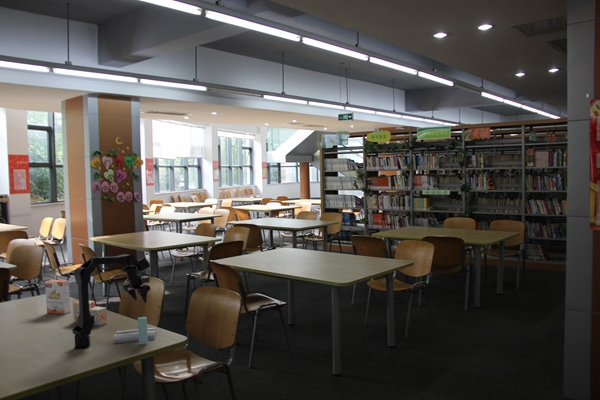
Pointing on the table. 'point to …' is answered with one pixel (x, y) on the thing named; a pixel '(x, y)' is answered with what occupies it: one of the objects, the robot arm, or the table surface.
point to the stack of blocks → (92, 312)
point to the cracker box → (57, 296)
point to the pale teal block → (142, 330)
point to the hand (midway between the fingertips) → (140, 301)
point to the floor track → (132, 335)
